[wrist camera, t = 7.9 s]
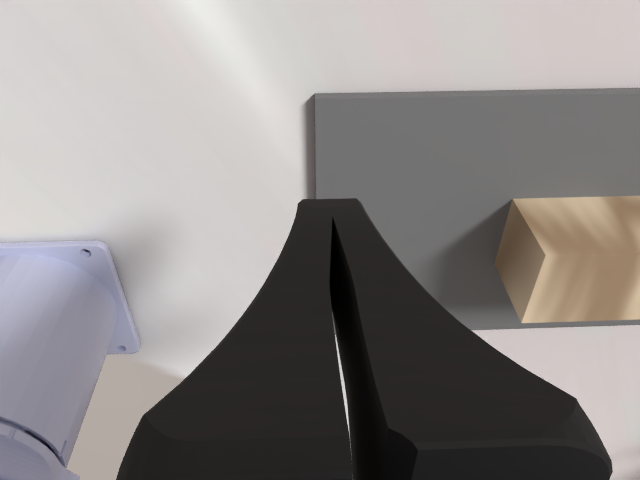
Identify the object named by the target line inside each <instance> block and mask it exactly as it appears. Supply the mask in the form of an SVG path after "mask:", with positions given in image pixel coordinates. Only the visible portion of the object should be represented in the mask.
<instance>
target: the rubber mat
mask: <svg viewBox="0 0 640 480" xmlns="http://www.w3.org/2000/svg"><path fill="white" fill-rule="evenodd" d="M607 196H640V88H613V89H555V90H498V91H440V92H383V93H325V94H315V198H316V199H345V198H357V199H358V200H359V201H360V202H361V203H362V205H363V207H364V209H365V211H366V213H367V214H368V216H369V218H370V219H371V221H372V222H373V224H374V226H375V227H376V229H377V230H378V232H379V233H380V235H381V236H382V237H383V239H384V240H385V242H386V243H387V244H388V246H389V247H390V248H391V249H392V251H393V252H394V253H395V255H396V256H397V257H398V259H399V260H400V261H401V262H402V264H403V265H404V266H405V267H406V268H407V270H408V271H409V272H410V273H411V274H412V275H413V276H414V278H415V279H416V280H417V281H418V282H419V283H420V284H421V285H422V286H423V287H424V288H425V290H426V291H427V292H428V293H429V294H430V295H431V296H432V297H433V298H434V299H435V300H437V301H438V302H439V303H440V304H441V305H442V306H443V307H444V308H445V309H446V310H447V311H448V312H449V313H450V314H452V315H453V316H454V317H455V318H456V319H457V320H458V321H460V322H461V323H462V324H463V325H465V326H466V327H467V328H469V329H470V330H492V329H523V328H554V327H585V326H617V325H640V319H638V320H607V321H575V322H544V323H521V321H520V319H519V317H518V315H517V313H516V311H515V308H514V306H513V304H512V302H511V300H510V297H509V295H508V293H507V291H506V289H505V287H504V284H503V282H502V280H501V278H500V276H499V273H498V271H497V269H496V267H495V265H494V263H495V259H496V256H497V252H498V249H499V245H500V242H501V238H502V235H503V231H504V227H505V224H506V220H507V217H508V213H509V210H510V206H511V202H512V199H524V198H565V197H607ZM332 316H333V314H332ZM333 324H334V319H333ZM334 333H335V334H336V331H335V325H334Z"/></svg>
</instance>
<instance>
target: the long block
mask: <svg viewBox="0 0 640 480" xmlns="http://www.w3.org/2000/svg"><path fill="white" fill-rule="evenodd" d="M494 265H495V267H496V269H497V271H498V273H499V276H500V278H501V280H502V282H503V284H504V287H505V289H506V291H507V293H508V295H509V297H510V300H511V302H512V304H513V306H514V308H515V311H516V313H517V315H518V317H519V319H520V321H521V323H544V322H575V321H607V320H638V319H640V196H607V197H565V198H524V199H512V202H511V206H510V210H509V213H508V217H507V220H506V224H505V227H504V231H503V235H502V238H501V242H500V245H499V249H498V252H497V256H496V259H495V263H494Z"/></svg>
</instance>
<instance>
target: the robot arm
mask: <svg viewBox="0 0 640 480" xmlns="http://www.w3.org/2000/svg"><path fill="white" fill-rule="evenodd" d="M83 249H86V250H88V251H90V252H86V251H84V250H83ZM332 314H333V316H332ZM333 319H334V324H333ZM334 325H335V331H336V337H337V342H338V348H339V354H340V359H341V365H342V371H343V377H344V382H345V389H346V396H347V404H348V416H349V430H350V438H349V431H348V425H347V419H346V413H345V406H344V399H343V393H342V386H341V379H340V372H339V364H338V357H337V349H336V341H335V333H334ZM139 349H140V340H139V337H138V334H137V331H136V328H135V325H134V322H133V319H132V316H131V313H130V310H129V307H128V304H127V301H126V298H125V295H124V292H123V289H122V286H121V283H120V280H119V278H118V275H117V272H116V269H115V266H114V263H113V260H112V257H111V254H110V251H109V248H108V246H107V245H106V244H105V243H103V242H101V241H96V240H91V241H53V242H14V243H0V480H79V479H80V477H79V476H78V475H77V474H74V473H73V472H71V471H69V470H67V469H66V468H67V465H68V462H69V459H70V456H71V454H72V451H73V448H74V445H75V442H76V439H77V437H78V433H79V430H80V428H81V425H82V422H83V419H84V416H85V414H86V411H87V408H88V405H89V402H90V399H91V397H92V394H93V391H94V388H95V385H96V382H97V380H98V377H99V374H100V371H101V368H102V365H103V363H104V360H105V357H106V354H132V353H136V352H138V351H139ZM350 443H351V449H350ZM351 457H352V460H351ZM612 472H613V471H612V462H611V459H610V457H609V455H608V453H607V451H606V449H605V447H604V445H603V443H602V441H601V439H600V437H599V435H598V433H597V432H596V430H595V428H594V426H593V425H592V423H591V421H590V420H589V418H588V417H587V415H586V414H585V412H584V411H583V409H582V408H581V406H580V405H579V403H578V401H577V399H576V398H574V397H573V396H571V395H569V394H568V393H566V392H564V391H562V390H561V389H559V388H557V387H555V386H554V385H552V384H550V383H549V382H547V381H545V380H543V379H542V378H540V377H538V376H536V375H535V374H533V373H531V372H530V371H528V370H526V369H525V368H523V367H521V366H520V365H518V364H517V363H515V362H514V361H512V360H511V359H509V358H508V357H507V356H505V355H504V354H502V353H501V352H499V351H498V350H496V349H495V348H493V347H492V346H491V345H489V344H488V343H486V342H485V341H484V340H483V339H481V338H480V337H479V336H477V335H476V334H475V333H474V332H472V331H471V330H470V329H469V328H467V327H466V326H465V325H463V324H462V323H461V322H460V321H458V320H457V319H456V318H455V317H454V316H453V315H452V314H450V313H449V312H448V311H447V310H446V309H445V308H444V307H443V306H442V305H441V304H440V303H439V302H438V301H437V300H435V299H434V298H433V297H432V296H431V295H430V294H429V293H428V292H427V291H426V290H425V288H424V287H423V286H422V285H421V284H420V283H419V282H418V281H417V280H416V279H415V278H414V276H413V275H412V274H411V273H410V272H409V271H408V270H407V268H406V267H405V266H404V265H403V264H402V262H401V261H400V260H399V259H398V257H397V256H396V255H395V253H394V252H393V251H392V249H391V248H390V247H389V246H388V244H387V243H386V242H385V240H384V239H383V237H382V236H381V235H380V233H379V232H378V230H377V229H376V227H375V226H374V224H373V222H372V221H371V219H370V218H369V216H368V214H367V213H366V211H365V209H364V207H363V205H362V203H361V202H360V201H359V200H358V199H357V198H345V199H303V200H302V201H301V202H299V203H298V207H297V213H296V217H295V220H294V223H293V226H292V228H291V231H290V234H289V236H288V238H287V241H286V243H285V245H284V247H283V249H282V252H281V254H280V256H279V258H278V260H277V262H276V263H275V265H274V267H273V269H272V271H271V272H270V274H269V276H268V278H267V279H266V281H265V283H264V285H263V286H262V288H261V289H260V291H259V292H258V294H257V295H256V297H255V298H254V300H253V301H252V303H251V304H250V306H249V307H248V308H247V310H246V311H245V313H244V314H243V315H242V316H241V318H240V319H239V320H238V322H237V323H236V324H235V325H234V327H233V328H232V329H231V330H230V332H229V333H228V334H227V335H226V336H225V338H224V339H223V340H222V341H221V342H220V343H219V344H218V346H217V347H216V348H215V349H214V350H213V351H212V352H211V353H210V354H209V355H208V356H207V357H206V358H205V359H204V360H203V361H202V362H201V363H200V364H199V365H198V366H197V367H196V368H195V369H194V370H193V371H192V373H191V374H190V375H188V376H187V377H186V378H185V379H184V380H183V381H182V382H181V383H180V384H179V385H178V386H176V387H175V388H174V389H173V390H172V391H171V392H170V393H169V394H167V395H166V396H165V397H164V398H163V399H162V400H160V401H159V402H158V403H157V404H156V405H155V406H154V407H152V408H151V409H150V410H149V411H148V412H146V413H145V414H144V415H143V417H142V418H141V420H140V422H139V425H138V426H137V428H136V430H135V432H134V435H133V437H132V439H131V441H130V444H129V446H128V448H127V451H126V453H125V456H124V458H123V461H122V463H121V466H120V468H119V472H118V475H117V479H116V480H609V479H610V476H611V474H612Z"/></svg>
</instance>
